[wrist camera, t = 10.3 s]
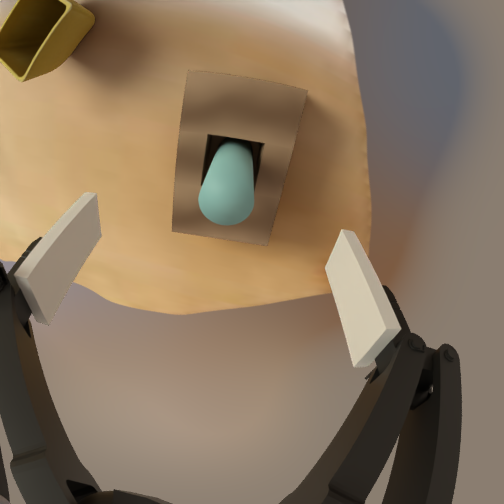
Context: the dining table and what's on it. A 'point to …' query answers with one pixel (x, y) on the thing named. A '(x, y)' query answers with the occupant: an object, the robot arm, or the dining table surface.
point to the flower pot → (41, 35)
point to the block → (242, 127)
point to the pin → (229, 183)
